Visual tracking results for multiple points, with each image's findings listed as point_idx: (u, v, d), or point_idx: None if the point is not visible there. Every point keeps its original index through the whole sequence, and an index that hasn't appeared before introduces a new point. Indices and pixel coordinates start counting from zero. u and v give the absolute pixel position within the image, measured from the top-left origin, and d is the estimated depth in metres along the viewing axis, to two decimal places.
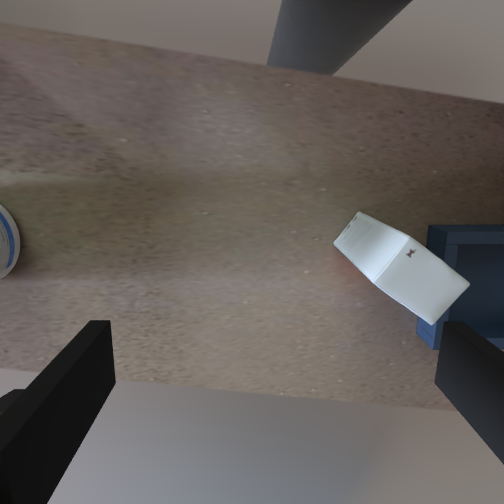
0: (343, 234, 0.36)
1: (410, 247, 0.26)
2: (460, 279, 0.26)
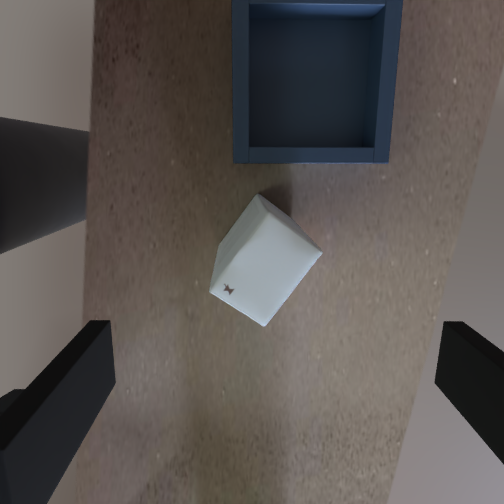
0: None
1: (221, 291, 0.22)
2: (262, 226, 0.21)
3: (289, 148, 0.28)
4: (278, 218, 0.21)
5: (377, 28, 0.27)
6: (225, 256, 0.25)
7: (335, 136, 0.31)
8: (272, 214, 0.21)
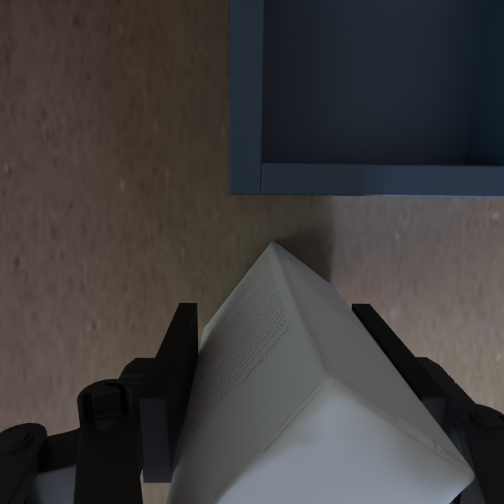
0: None
1: None
2: (307, 416, 0.07)
3: (342, 166, 0.14)
4: (355, 391, 0.07)
5: None
6: (206, 420, 0.11)
7: (418, 142, 0.17)
8: (339, 381, 0.07)
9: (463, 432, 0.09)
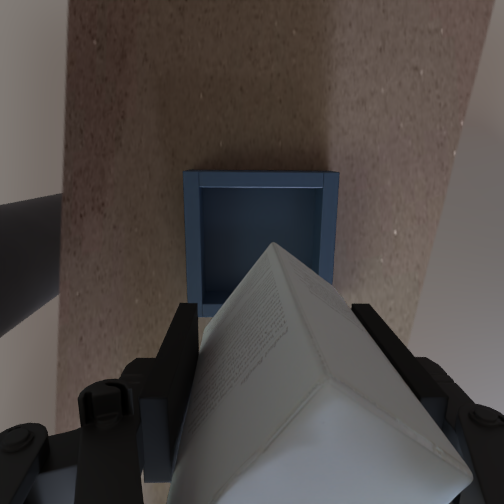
0: None
1: None
2: (305, 417, 0.07)
3: None
4: (354, 392, 0.07)
5: (318, 199, 0.30)
6: (206, 420, 0.11)
7: None
8: (337, 383, 0.07)
9: (462, 432, 0.09)
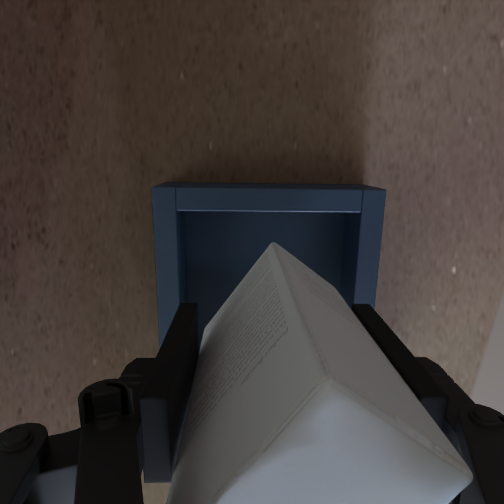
0: None
1: None
2: (305, 416, 0.07)
3: None
4: (354, 391, 0.07)
5: (351, 226, 0.21)
6: (206, 420, 0.11)
7: None
8: (337, 382, 0.07)
9: (462, 432, 0.09)
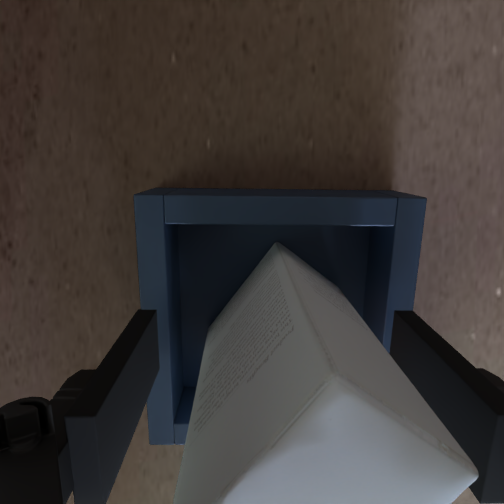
0: None
1: None
2: (313, 413, 0.07)
3: None
4: (360, 389, 0.07)
5: (380, 242, 0.17)
6: (212, 418, 0.11)
7: None
8: (344, 380, 0.07)
9: None
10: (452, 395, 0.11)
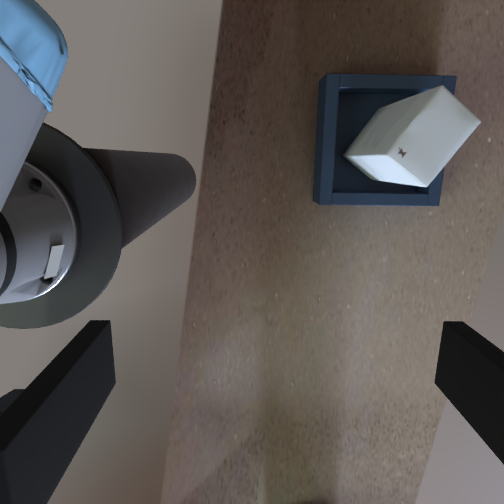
0: (364, 172, 0.38)
1: (396, 153, 0.27)
2: (435, 97, 0.26)
3: (363, 194, 0.36)
4: (448, 91, 0.26)
5: None
6: (383, 137, 0.29)
7: None
8: (444, 87, 0.26)
9: None
10: None
